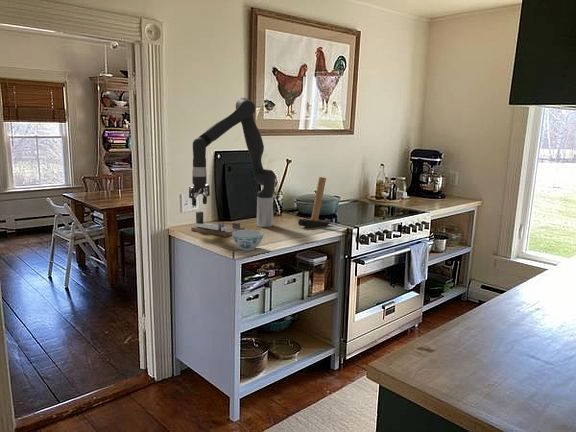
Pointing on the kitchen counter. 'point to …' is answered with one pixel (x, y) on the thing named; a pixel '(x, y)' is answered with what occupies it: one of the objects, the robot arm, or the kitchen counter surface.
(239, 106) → the robot arm
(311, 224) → the hammer
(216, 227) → the lever
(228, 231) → the press base
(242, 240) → the chinaware
